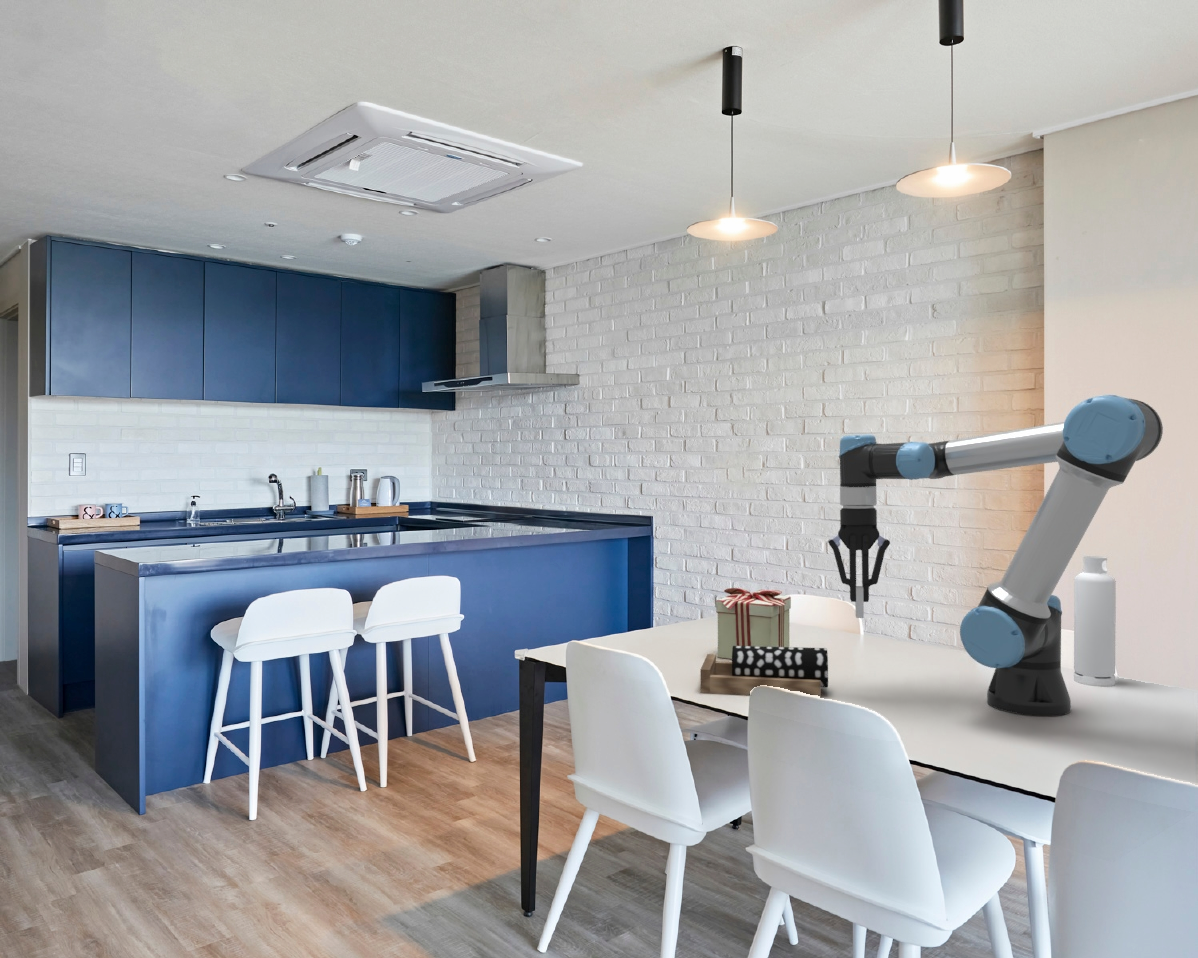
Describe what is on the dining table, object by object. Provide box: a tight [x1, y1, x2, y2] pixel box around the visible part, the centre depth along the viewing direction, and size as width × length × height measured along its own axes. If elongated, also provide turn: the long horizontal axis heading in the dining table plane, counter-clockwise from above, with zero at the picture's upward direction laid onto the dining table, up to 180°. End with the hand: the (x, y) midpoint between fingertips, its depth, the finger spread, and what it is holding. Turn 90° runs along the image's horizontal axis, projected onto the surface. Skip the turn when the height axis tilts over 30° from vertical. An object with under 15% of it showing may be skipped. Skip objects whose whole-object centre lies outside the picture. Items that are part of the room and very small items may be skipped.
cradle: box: [699, 653, 822, 697], centre depth 195 cm, size 25×16×5 cm, turn 78°
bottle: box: [1073, 555, 1117, 687], centre depth 199 cm, size 8×8×28 cm
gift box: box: [715, 587, 792, 660], centre depth 226 cm, size 17×18×17 cm
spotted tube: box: [731, 646, 829, 689], centre depth 192 cm, size 8×8×20 cm
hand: (859, 616), depth 191 cm, fingers closed
